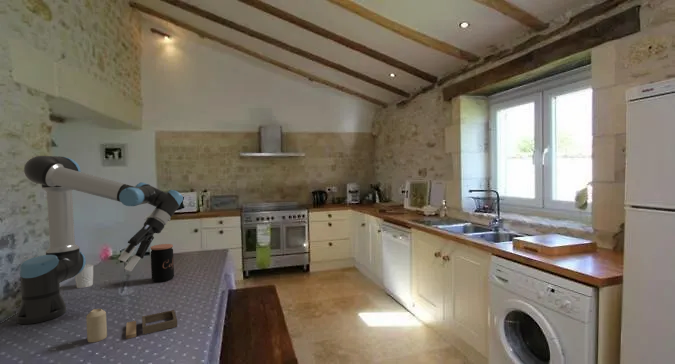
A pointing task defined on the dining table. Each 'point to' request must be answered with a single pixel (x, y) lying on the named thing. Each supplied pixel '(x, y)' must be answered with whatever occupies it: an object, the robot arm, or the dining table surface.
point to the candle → (96, 325)
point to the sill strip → (131, 329)
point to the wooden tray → (161, 325)
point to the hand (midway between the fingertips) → (124, 265)
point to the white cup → (85, 277)
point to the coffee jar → (162, 262)
